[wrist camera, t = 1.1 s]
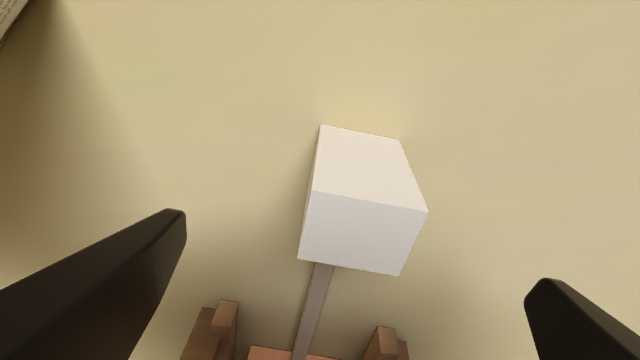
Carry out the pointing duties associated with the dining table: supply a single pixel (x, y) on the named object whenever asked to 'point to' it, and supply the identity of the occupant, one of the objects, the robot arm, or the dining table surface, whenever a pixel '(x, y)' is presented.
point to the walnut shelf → (220, 331)
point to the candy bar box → (9, 15)
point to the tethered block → (353, 219)
